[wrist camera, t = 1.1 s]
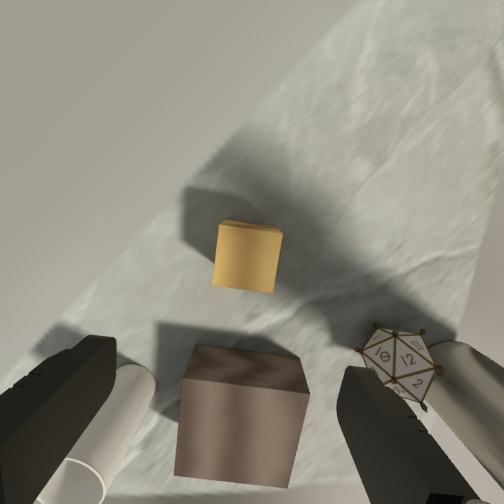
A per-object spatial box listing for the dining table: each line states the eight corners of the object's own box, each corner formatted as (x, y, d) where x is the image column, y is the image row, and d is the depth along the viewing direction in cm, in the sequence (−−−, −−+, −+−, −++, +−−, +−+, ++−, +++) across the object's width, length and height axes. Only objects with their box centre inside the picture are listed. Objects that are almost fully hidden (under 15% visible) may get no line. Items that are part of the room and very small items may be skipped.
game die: (373, 335, 35) (417, 415, 28) (329, 337, 31) (366, 428, 25) (424, 304, 29) (494, 396, 22) (375, 302, 25) (440, 409, 19)
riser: (299, 357, 31) (310, 394, 25) (281, 439, 34) (287, 488, 28) (196, 344, 31) (182, 377, 25) (187, 427, 34) (173, 475, 28)
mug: (110, 358, 31) (26, 452, 20) (160, 365, 32) (105, 463, 20) (108, 418, 34) (32, 534, 22) (155, 424, 34) (103, 543, 22)
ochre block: (276, 226, 27) (283, 233, 22) (268, 274, 29) (272, 293, 23) (226, 219, 27) (219, 224, 21) (220, 267, 29) (212, 284, 23)
